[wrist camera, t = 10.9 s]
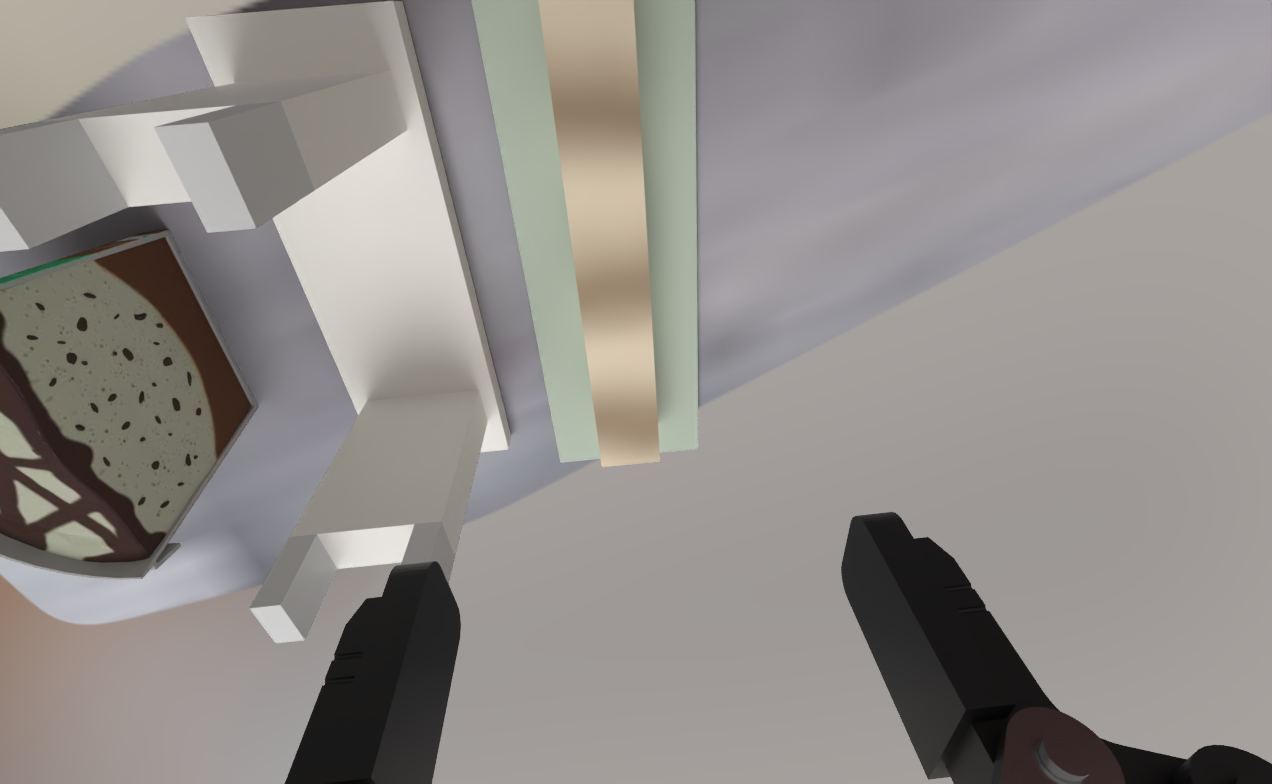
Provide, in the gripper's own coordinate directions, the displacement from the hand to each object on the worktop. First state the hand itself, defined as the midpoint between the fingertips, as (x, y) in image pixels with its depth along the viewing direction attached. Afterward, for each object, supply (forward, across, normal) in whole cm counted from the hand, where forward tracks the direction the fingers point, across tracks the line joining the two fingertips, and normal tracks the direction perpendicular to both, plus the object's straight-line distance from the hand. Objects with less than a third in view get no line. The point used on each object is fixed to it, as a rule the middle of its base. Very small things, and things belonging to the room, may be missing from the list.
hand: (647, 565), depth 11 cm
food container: (+18, +22, +2) cm, 29 cm away
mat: (+18, 0, 0) cm, 18 cm away
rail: (+17, 0, 0) cm, 17 cm away
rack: (+18, +10, 0) cm, 21 cm away
